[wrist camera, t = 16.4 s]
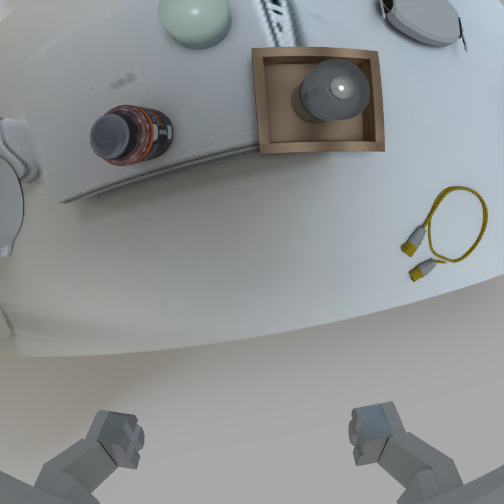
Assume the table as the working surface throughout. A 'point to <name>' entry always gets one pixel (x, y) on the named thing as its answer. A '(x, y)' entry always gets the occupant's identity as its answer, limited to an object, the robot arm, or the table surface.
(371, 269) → the table surface
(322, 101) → the translucent grey bottle
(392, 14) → the robot toy
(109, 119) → the supplement bottle
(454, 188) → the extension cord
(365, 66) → the wooden box
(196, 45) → the pale green dome cylinder
